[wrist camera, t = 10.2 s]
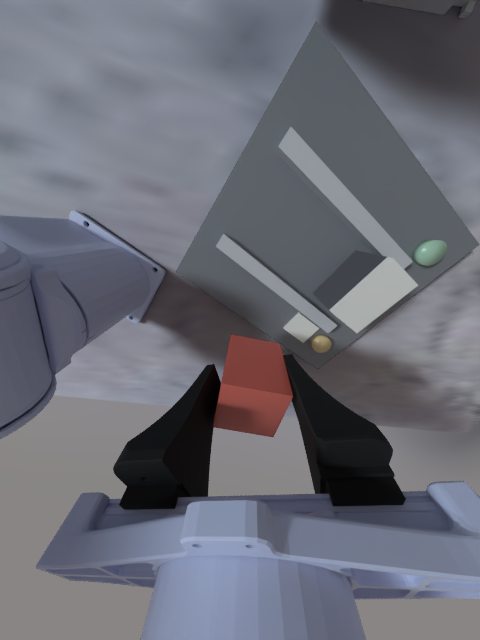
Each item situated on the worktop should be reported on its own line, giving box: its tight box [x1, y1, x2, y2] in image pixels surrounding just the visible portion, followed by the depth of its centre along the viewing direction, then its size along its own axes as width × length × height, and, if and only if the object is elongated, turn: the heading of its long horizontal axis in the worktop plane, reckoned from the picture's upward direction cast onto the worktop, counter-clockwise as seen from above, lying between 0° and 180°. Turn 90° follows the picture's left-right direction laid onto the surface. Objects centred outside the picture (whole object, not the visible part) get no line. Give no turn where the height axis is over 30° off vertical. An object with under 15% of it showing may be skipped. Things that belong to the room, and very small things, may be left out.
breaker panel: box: [176, 22, 479, 369], centre depth 16 cm, size 20×18×3 cm
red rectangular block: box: [213, 334, 293, 437], centre depth 13 cm, size 4×4×5 cm
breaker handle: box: [313, 250, 418, 333], centre depth 15 cm, size 3×5×4 cm, turn 143°
